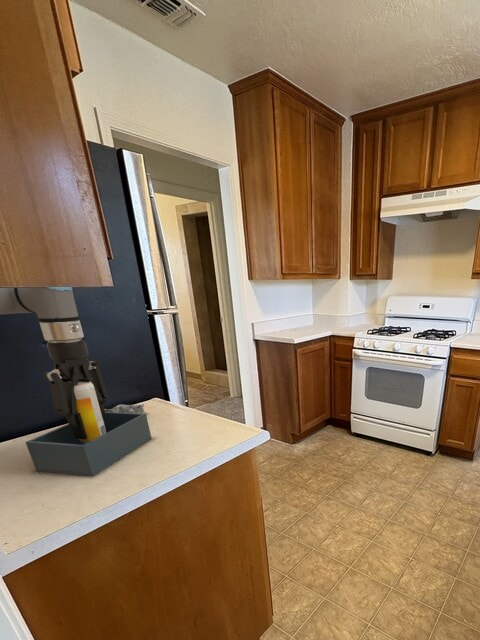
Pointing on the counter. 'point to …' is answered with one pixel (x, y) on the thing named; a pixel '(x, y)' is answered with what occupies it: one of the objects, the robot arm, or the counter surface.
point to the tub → (89, 446)
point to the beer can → (89, 410)
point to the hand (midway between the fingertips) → (92, 432)
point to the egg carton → (127, 409)
